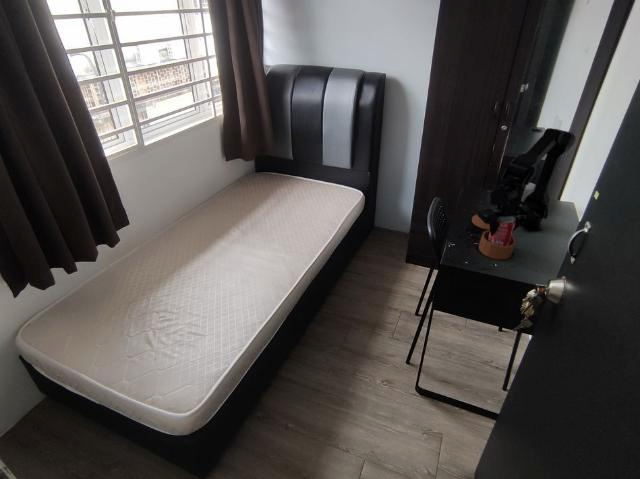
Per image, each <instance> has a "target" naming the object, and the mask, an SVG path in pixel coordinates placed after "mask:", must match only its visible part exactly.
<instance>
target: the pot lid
mask: <svg viewBox="0 0 640 479" xmlns="http://www.w3.org/2000/svg"><path fill="white" fill-rule="evenodd" d="M471 222H472V224H473V225H474V226H476V227H478V228H480V229H483V230H485V231H487V230H490V226H489V224H486V223H484V222H483V221H482V220H481V219H480V218H479V217H478V214H474V215H473V216H472V217H471Z"/></svg>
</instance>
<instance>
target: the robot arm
mask: <svg viewBox="0 0 640 479" xmlns="http://www.w3.org/2000/svg"><path fill="white" fill-rule="evenodd" d="M576 139H577V138H576V136H575V134H574V132H571V131H566V130H563V129H558V128H552V127H549V128H545V130H544V132H543V134H542V136H541V137H539V139H538V140H537V141H536V142H535V143H534V144H533V145H532V146H531V147H530V148H529V150H527V151H526V152H525V153H522V154H518V155H517V156H516V157H514V158H513V159H512V160H511V161H509V163H508V164H507V166H506V168H505V169H504V171H503V173H502V174H501V176H500V178H499V180H500V181H501V182H503V183H502V184H500V185H499V187H497V188H494V189H493V190H492V191H491V193H490V194H487V196H486V199H485V203H486V204H487V205H489V206H494V209H495V210H496V211H493V210H492V208H481V209H479V210H478V212H477V215H478V217H479V218H480V219H481V220H482V221H483V222H484V223H486V224H489V226H490V234H491V236H493V235H494V234H495V232H496V231H497V229H498V227H499V225H500V223H499V222H498V219H499V218H503V217H514V218H515V227H514V230H513V232H515V231H516V230H517V229H518V228H519V227H522V228H523V230H525V231H526V232H536V231H542V227H540V226H541V223H542V220H544V219H545V220H547V219H548V217H549V214H550V212H551V209H550V204H549V203H550V201H551V198H550V195H549V190H550V187H551V185H552V182H553V179H554V177H555V175H556V172H557V170H558V166H559V164H560V162H561V159H562V156H563V155H565V154H566V153H568V151H570V150H571V148H572V147H573V146H574V144H575V142H576ZM544 157H545V159H544V161H543V164H542V167H541V170H540V172H539V176H538V178H537V179H536V180H537V181H536V184H535V185H536V186H535V189H534V191H533V192H532V193H530V194H529V195H528V196H527V197H526V198H525V200H524V201H523V202H522V201H521V199H522V196H523V193H524V190H525V187H526V185H528V184H529V183H531V181H532V180H533V178H534V177H535V176H536V173H537V172H536V171H537V166H538V164H539V162H540V161H541V160H542V159H543V158H544ZM519 205H522V206H519ZM497 210H498V211H497Z"/></svg>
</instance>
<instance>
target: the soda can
mask: <svg viewBox="0 0 640 479" xmlns="http://www.w3.org/2000/svg"><path fill="white" fill-rule="evenodd" d="M498 222H499V223H500V225H499V227H498V229H497V231H496V232H495V234H494V235H493V236H491V234H489V238H488V241H489V242H490V243H492V244H495V245H498V246H508V245H509V242H510V239H511V236H513V233H514V231H515V230H514V227H515V218H514V217H503V218H499V219H498ZM513 230H514V231H513Z"/></svg>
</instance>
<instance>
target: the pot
mask: <svg viewBox="0 0 640 479" xmlns="http://www.w3.org/2000/svg"><path fill="white" fill-rule="evenodd" d="M489 234H490V230H485V231H483V233H482V235H481V237H480V241H479V244H478V250H479V251H480V253H482V254H483V255H484V256H485V257H487V258H490V259H493V260H502V261H503V260H508V259H509V258H511V257H512V254H513V251H514V249H515V246H516V243H517V241H516V239H515V237H514V236H513V235H512V236H511V239H510V242H509V245H508V246H498V245H495V244H492V243H490V242H489V241H488V238H489Z"/></svg>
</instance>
